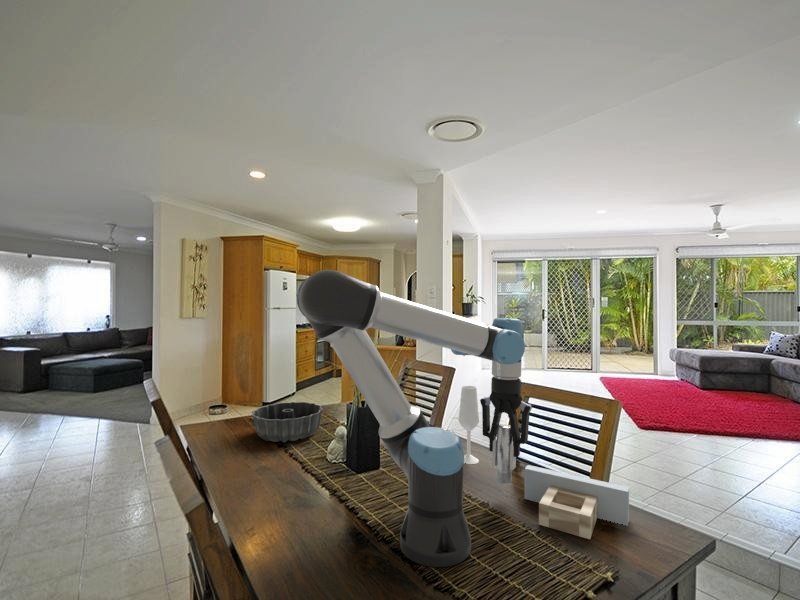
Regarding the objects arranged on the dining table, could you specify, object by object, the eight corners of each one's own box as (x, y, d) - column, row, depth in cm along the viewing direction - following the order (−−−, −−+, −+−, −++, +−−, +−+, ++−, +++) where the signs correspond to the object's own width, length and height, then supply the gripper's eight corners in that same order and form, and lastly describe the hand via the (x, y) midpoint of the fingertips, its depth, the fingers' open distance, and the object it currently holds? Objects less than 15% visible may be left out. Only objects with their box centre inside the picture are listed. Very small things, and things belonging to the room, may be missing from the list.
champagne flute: (478, 456, 138) (478, 385, 138) (479, 464, 132) (480, 389, 132) (457, 455, 139) (458, 384, 139) (458, 463, 132) (459, 388, 132)
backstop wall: (627, 526, 96) (628, 491, 96) (524, 498, 109) (524, 468, 109) (628, 520, 98) (629, 487, 98) (527, 494, 111) (527, 464, 111)
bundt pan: (235, 443, 150) (235, 415, 150) (277, 422, 175) (277, 399, 175) (300, 451, 142) (300, 422, 142) (333, 428, 167) (333, 404, 167)
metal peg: (508, 484, 105) (510, 429, 105) (493, 480, 107) (495, 427, 108) (513, 479, 109) (514, 426, 109) (498, 475, 111) (500, 423, 111)
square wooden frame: (590, 539, 90) (590, 516, 90) (538, 524, 96) (538, 503, 96) (597, 517, 99) (597, 496, 99) (549, 505, 105) (549, 485, 105)
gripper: (543, 379, 107) (540, 469, 107) (480, 371, 116) (478, 454, 116) (535, 383, 100) (533, 479, 100) (470, 375, 110) (468, 463, 109)
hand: (504, 466), depth 108 cm, fingers closed on metal peg, 4 cm apart
